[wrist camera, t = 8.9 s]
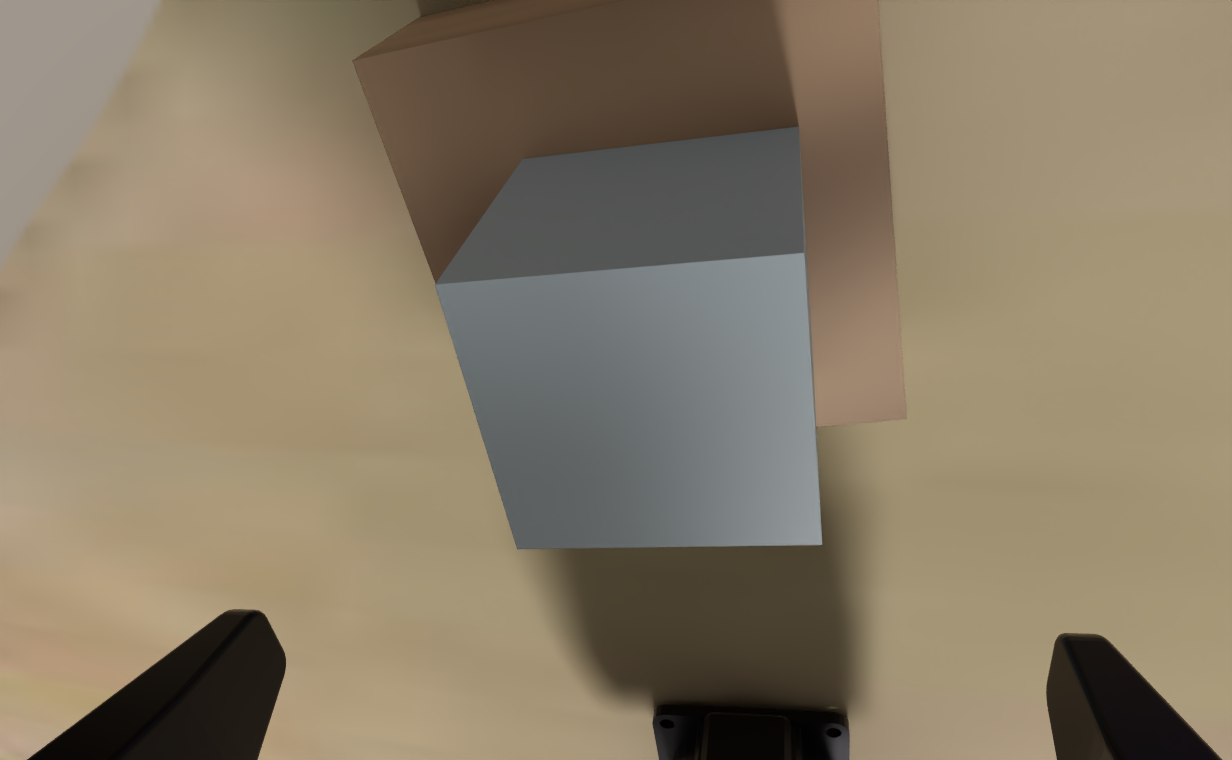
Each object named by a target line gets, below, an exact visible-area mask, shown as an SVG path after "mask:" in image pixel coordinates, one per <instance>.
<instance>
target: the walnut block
mask: <svg viewBox="0 0 1232 760" xmlns="http://www.w3.org/2000/svg"><path fill="white" fill-rule="evenodd" d="M353 64H354V66H355V69H356V72H357V74H358V77H359V80H360V83H361V85H362V88H363V91H364V93H365V96H366V99H367V101H368V104H369V107H370V109H371V112H372V115H373V117H374V120H375V123H376V125H377V128H378V131H379V133H380V136H381V139H382V141H383V144H384V147H385V149H386V152H387V155H388V157H389V160H390V163H391V165H392V168H393V171H394V173H395V176H396V179H397V181H398V184H399V187H400V189H401V192H402V195H403V197H404V200H405V203H406V205H407V208H408V211H409V213H410V216H411V219H412V221H413V224H414V227H415V229H416V232H417V235H418V237H419V240H420V243H421V245H422V248H423V251H424V253H425V256H426V259H427V262H428V264H429V267H430V270H431V272H432V275H433V278H434V280H435V283H436V282H437V281H438V279H439V278H440V277H441V275H442V274H443V272H444V271H445V269H446V268H447V266H448V265H449V264H450V262H451V261H452V259H453V258H454V256H455V255H456V254H457V252H458V251H459V249H460V248H461V246H462V245H463V244H464V242H465V241H466V239H467V238H468V236H469V235H470V234H471V232H472V231H473V229H474V228H475V226H476V225H477V224H478V222H479V221H480V219H481V218H482V216H483V215H484V214H485V212H486V211H487V209H488V208H489V206H490V205H491V204H492V202H493V201H494V199H495V198H496V196H497V195H498V193H499V192H500V191H501V189H502V188H503V186H504V185H505V183H506V182H507V181H508V179H509V178H510V176H511V175H512V173H513V172H514V171H515V169H516V168H517V166H518V165H519V163H520V162H521V161H522V159H526V158H535V157H543V156H552V155H560V154H569V153H577V152H586V151H595V150H603V149H612V148H620V147H629V146H637V145H646V144H654V143H663V142H671V141H680V140H688V139H697V138H705V137H714V136H722V135H731V134H740V133H748V132H757V131H765V130H774V129H782V128H791V127H799V136H800V152H801V169H802V185H803V202H804V219H805V235H806V252H807V268H808V285H809V302H810V318H811V335H812V351H813V368H814V388H815V408H816V427H823V426H834V425H845V424H857V423H868V422H879V421H891V420H902V419H907V414H906V400H905V385H904V371H903V357H902V342H901V328H900V314H899V299H898V285H897V270H896V256H895V242H894V227H893V213H892V199H891V184H890V170H889V156H888V141H887V127H886V113H885V98H884V84H883V70H882V55H881V41H880V26H879V12H878V0H491V1H487V2H483V3H478V4H474V5H470V6H465V7H461V8H457V9H452V10H448V11H444V12H439V13H435V14H431V15H426V16H422V17H420V18H418V19H417V20H415V21H413V22H412V23H410V24H409V25H407V26H406V27H404V28H402V29H401V30H399V31H398V32H396V33H395V34H393V35H392V36H390V37H388V38H387V39H385V40H384V41H382V42H381V43H379V44H378V45H376V46H374V47H373V48H371V49H370V50H368V51H367V52H365V53H364V54H362V55H360V56H359V57H357V58H356V59H354V60H353Z"/></svg>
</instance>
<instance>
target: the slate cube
mask: <svg viewBox="0 0 1232 760" xmlns="http://www.w3.org/2000/svg"><path fill="white" fill-rule="evenodd" d="M435 287H436V290H437V293H438V296H439V300H440V303H441V306H442V309H443V312H444V316H445V319H446V322H447V325H448V328H449V332H450V335H451V338H452V341H453V345H454V348H455V351H456V354H457V357H458V361H459V364H460V367H461V370H462V373H463V377H464V380H465V383H466V386H467V389H468V393H469V396H470V399H471V402H472V406H473V409H474V412H475V415H476V418H477V422H478V425H479V428H480V431H481V434H482V438H483V441H484V444H485V447H486V450H487V454H488V457H489V460H490V463H491V467H492V470H493V473H494V476H495V479H496V483H497V486H498V489H499V492H500V495H501V499H502V502H503V505H504V508H505V511H506V515H507V518H508V521H509V524H510V527H511V531H512V534H513V537H514V540H515V544H516V547H517V549H563V548H637V547H710V546H783V545H822V529H821V509H820V488H819V468H818V448H817V428H816V408H815V388H814V368H813V351H812V335H811V318H810V302H809V285H808V268H807V252H806V235H805V219H804V202H803V185H802V169H801V152H800V136H799V127H791V128H782V129H774V130H765V131H757V132H748V133H740V134H731V135H722V136H714V137H705V138H697V139H688V140H680V141H671V142H663V143H654V144H646V145H637V146H629V147H620V148H612V149H603V150H595V151H586V152H577V153H569V154H560V155H552V156H543V157H535V158H526V159H522V161H521V162H520V163H519V165H518V166H517V168H516V169H515V171H514V172H513V173H512V175H511V176H510V178H509V179H508V181H507V182H506V183H505V185H504V186H503V188H502V189H501V191H500V192H499V193H498V195H497V196H496V198H495V199H494V201H493V202H492V204H491V205H490V206H489V208H488V209H487V211H486V212H485V214H484V215H483V216H482V218H481V219H480V221H479V222H478V224H477V225H476V226H475V228H474V229H473V231H472V232H471V234H470V235H469V236H468V238H467V239H466V241H465V242H464V244H463V245H462V246H461V248H460V249H459V251H458V252H457V254H456V255H455V256H454V258H453V259H452V261H451V262H450V264H449V265H448V266H447V268H446V269H445V271H444V272H443V274H442V275H441V277H440V278H439V279H438V281H437V282H436V284H435Z"/></svg>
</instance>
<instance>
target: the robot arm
mask: <svg viewBox="0 0 1232 760" xmlns="http://www.w3.org/2000/svg"><path fill="white" fill-rule="evenodd" d="M285 669H286V657H285V653H284V650H283V648H282V646H281V644H280V642H279V640H278V639H277V637H276V635H275V633H274V631H273V629H272V627H271V625H270V623H269V621H268V619H267V617H266V616H265V614H263V613H262V612H261V611H258V610H243V609H233V610H228V611H226V612H224V613H223V614H221V615H220V616H218V617H217V618H215V619H214V620H213V621H211V622H210V623H209V624H207V625H206V626H205V627H203V628H202V629H201V630H199V631H198V632H197V633H195V634H194V635H193V636H191V637H190V638H189V639H187V640H186V641H185V642H183V643H182V644H181V645H179V646H178V647H177V648H175V649H174V650H173V651H171V652H170V653H169V654H167V655H166V656H165V657H163V658H162V659H161V660H159V661H158V662H157V663H155V664H154V665H153V666H151V667H150V668H149V669H147V670H146V671H145V672H143V673H142V674H141V675H139V676H138V677H137V678H135V679H134V680H133V681H131V682H130V683H129V684H127V685H126V686H125V687H123V688H122V689H121V690H119V691H118V692H117V693H115V694H114V695H113V696H111V697H110V698H109V699H107V700H106V701H105V702H103V703H102V704H101V705H99V706H98V707H97V708H95V709H94V710H93V711H91V712H90V713H89V714H87V715H86V716H85V717H83V718H82V719H81V720H79V721H78V722H77V723H75V724H74V725H73V726H71V727H70V728H69V729H67V730H66V731H65V732H63V733H62V734H61V735H59V736H58V737H57V738H55V739H54V740H53V741H51V742H50V743H49V744H47V745H46V746H45V747H43V748H42V749H41V750H39V751H38V752H37V753H35V754H34V755H33V756H31V757H30V758H29V759H27V760H257V759H258V756H259V753H260V750H261V747H262V744H263V741H264V737H265V734H266V731H267V728H268V725H269V722H270V719H271V715H272V712H273V709H274V706H275V703H276V700H277V696H278V693H279V690H280V687H281V684H282V681H283V678H284V674H285ZM1046 695H1047V706H1048V712H1049V718H1050V723H1051V729H1052V734H1053V740H1054V745H1055V751H1056V756H1057V760H1222V759H1221V758H1220V757H1219V756H1218V755H1217V754H1216V753H1215V752H1214V750H1213V749H1212V748H1211V747H1210V746H1209V745H1208V744H1207V743H1206V742H1205V741H1204V740H1203V739H1202V738H1201V737H1200V736H1199V735H1198V734H1197V733H1196V732H1195V731H1194V730H1193V728H1192V727H1191V726H1190V725H1189V724H1188V723H1187V722H1186V721H1185V720H1184V719H1183V718H1182V717H1181V716H1180V715H1179V714H1178V713H1177V712H1176V711H1175V710H1174V709H1173V708H1172V707H1171V705H1170V704H1169V703H1168V702H1167V701H1166V700H1165V699H1164V698H1163V697H1162V696H1161V695H1160V694H1159V693H1158V692H1157V691H1156V690H1155V689H1154V688H1153V687H1152V686H1151V685H1150V683H1149V682H1148V681H1147V680H1146V679H1145V678H1144V677H1143V676H1142V675H1141V674H1140V673H1139V672H1138V671H1137V670H1136V669H1135V668H1134V667H1133V666H1132V665H1131V664H1130V663H1129V661H1128V660H1127V659H1126V658H1125V657H1124V656H1123V655H1122V654H1121V653H1120V652H1119V651H1118V650H1117V649H1116V648H1115V647H1114V646H1113V645H1112V644H1111V643H1110V642H1109V641H1108V640H1107V639H1106V638H1104V637H1103V636H1100V635H1097V634H1078V633H1064V634H1060V635H1059V636H1058V637H1057V639H1056V641H1055V644H1054V650H1053V655H1052V660H1051V665H1050V670H1049V675H1048V680H1047V688H1046ZM653 728H654V734H655V739H656V745H657V750H658V755H659V760H849V722H848V719H847V718H846V717H845V716H843V715H841V714H838V713H829V712H809V711H788V710H767V709H746V708H726V707H705V706H684V705H660V706H658V707H656V709H655V710H654V716H653Z"/></svg>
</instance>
